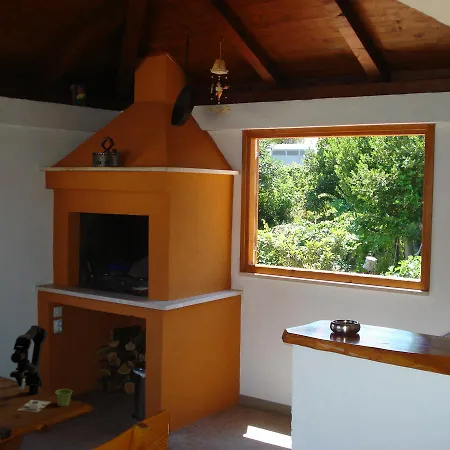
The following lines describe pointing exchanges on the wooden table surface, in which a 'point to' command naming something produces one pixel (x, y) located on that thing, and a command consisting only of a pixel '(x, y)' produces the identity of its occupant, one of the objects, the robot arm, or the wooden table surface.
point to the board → (26, 408)
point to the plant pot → (63, 397)
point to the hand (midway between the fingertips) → (21, 385)
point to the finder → (35, 405)
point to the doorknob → (22, 383)
